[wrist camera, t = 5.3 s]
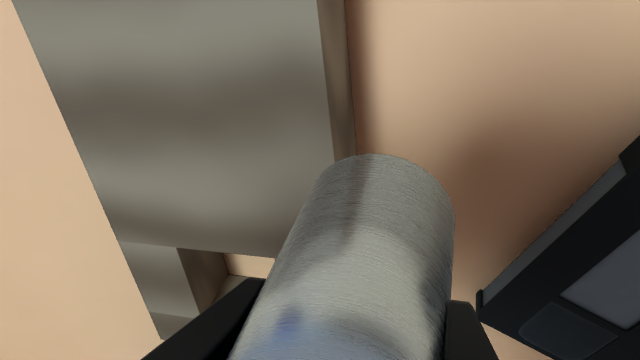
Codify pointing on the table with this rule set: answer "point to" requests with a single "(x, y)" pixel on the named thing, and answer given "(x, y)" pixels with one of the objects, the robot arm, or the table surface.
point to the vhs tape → (578, 276)
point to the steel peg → (359, 269)
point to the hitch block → (197, 127)
